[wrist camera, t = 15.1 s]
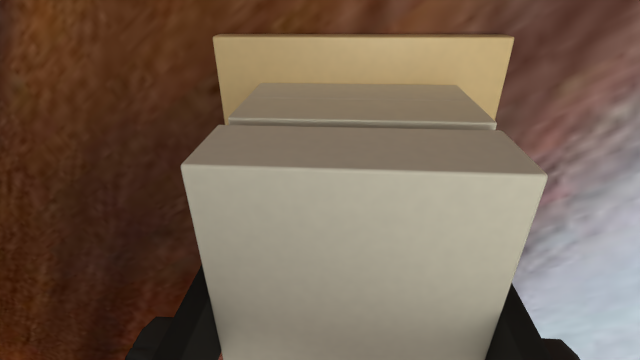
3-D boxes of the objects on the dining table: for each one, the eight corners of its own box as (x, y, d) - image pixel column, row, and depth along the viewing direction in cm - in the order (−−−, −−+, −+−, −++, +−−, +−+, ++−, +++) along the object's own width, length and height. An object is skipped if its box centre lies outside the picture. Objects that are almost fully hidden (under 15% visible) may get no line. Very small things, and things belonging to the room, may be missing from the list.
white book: (217, 123, 12) (178, 164, 9) (502, 129, 11) (550, 175, 8) (253, 356, 17) (236, 423, 15) (441, 369, 17) (457, 440, 14)
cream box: (219, 33, 17) (157, 56, 11) (506, 34, 16) (584, 59, 10) (252, 284, 24) (225, 366, 19) (446, 294, 23) (474, 384, 18)
